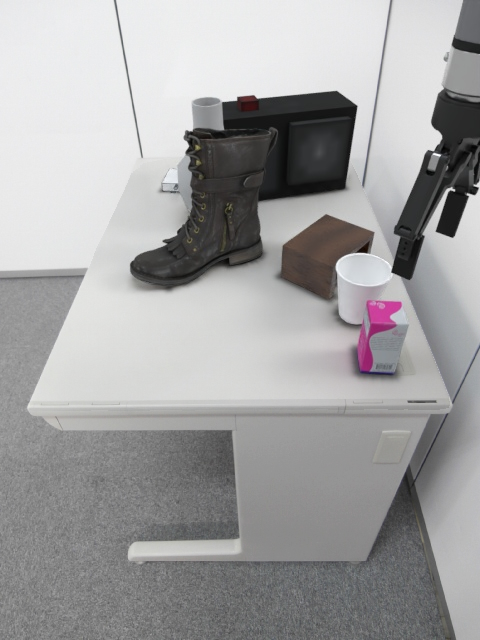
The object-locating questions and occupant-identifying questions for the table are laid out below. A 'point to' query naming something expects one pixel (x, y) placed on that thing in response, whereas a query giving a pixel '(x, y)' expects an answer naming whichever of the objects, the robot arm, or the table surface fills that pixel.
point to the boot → (214, 207)
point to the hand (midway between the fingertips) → (424, 253)
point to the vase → (204, 116)
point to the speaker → (299, 139)
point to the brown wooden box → (322, 253)
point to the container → (170, 181)
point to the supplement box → (382, 336)
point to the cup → (360, 283)
